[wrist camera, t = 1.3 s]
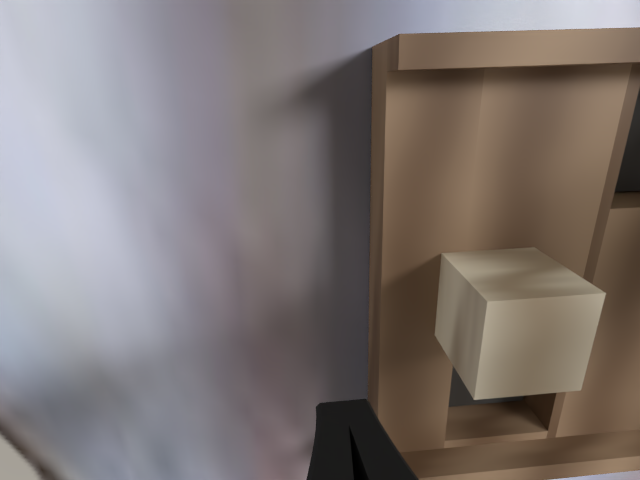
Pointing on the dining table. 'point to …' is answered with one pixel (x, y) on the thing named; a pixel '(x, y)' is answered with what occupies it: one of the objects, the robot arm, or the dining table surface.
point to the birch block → (515, 322)
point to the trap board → (505, 237)
